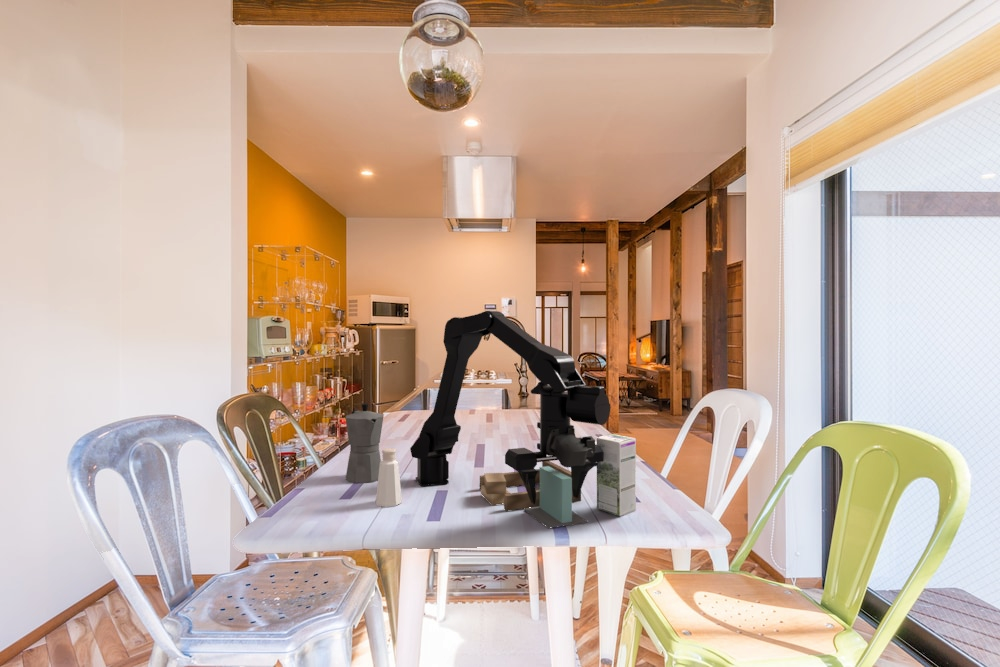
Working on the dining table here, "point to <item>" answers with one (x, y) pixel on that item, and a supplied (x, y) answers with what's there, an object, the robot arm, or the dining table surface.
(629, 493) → the syrup box
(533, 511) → the mat
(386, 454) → the pepper shaker
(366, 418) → the coffeepot
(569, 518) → the teal rectangular block
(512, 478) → the rack
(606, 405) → the robot arm
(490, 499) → the offcut lower
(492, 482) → the offcut upper
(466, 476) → the dining table surface
